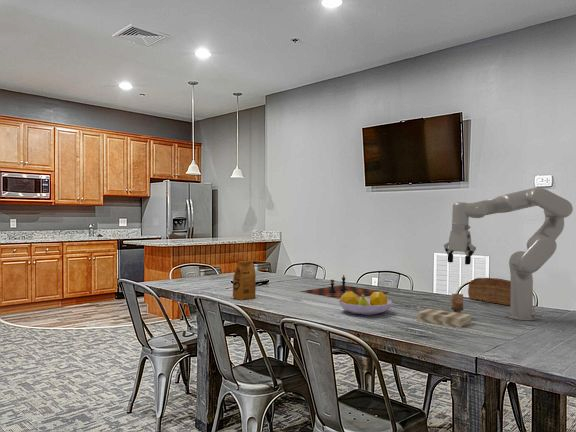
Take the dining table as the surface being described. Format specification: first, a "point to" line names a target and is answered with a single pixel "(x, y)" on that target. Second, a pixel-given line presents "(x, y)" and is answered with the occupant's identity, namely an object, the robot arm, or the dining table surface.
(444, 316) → the board
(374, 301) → the fruit bowl
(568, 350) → the dining table surface
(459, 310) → the peg
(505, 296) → the bread
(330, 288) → the chessboard
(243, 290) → the coffee package
